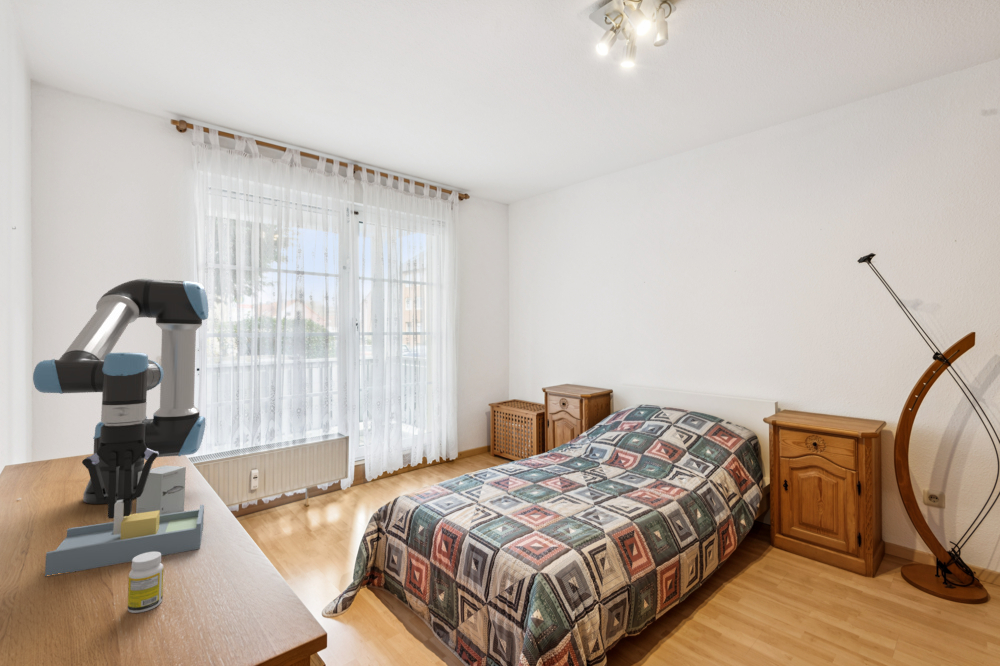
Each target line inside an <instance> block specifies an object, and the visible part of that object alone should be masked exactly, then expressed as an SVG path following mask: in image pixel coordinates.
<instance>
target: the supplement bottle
mask: <svg viewBox="0 0 1000 666" xmlns="http://www.w3.org/2000/svg"><path fill="white" fill-rule="evenodd" d="M127 588H128V591H127V592H128V593H127V611H128V612H129V613H132V614H138V613H145V612H148V611H151V610H154V608H156V607H158V606H160V605H161V603H163V592H164V589H163V588H164V564H163V563H162V556H161V553H160V552H147V553H143V554H140V555H138V556H136V557H134V558H133V559H132V561H131V570H130V571H129V573H128V587H127Z"/></svg>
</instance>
